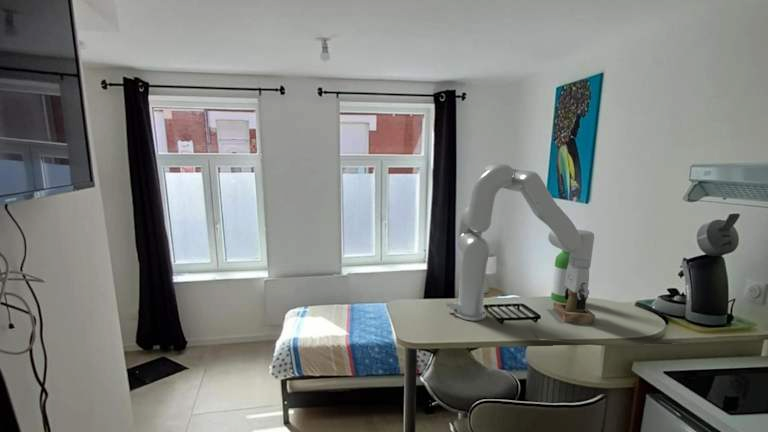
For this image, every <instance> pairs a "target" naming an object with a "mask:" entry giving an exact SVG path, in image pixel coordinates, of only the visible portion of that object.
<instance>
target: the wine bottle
mask: <svg viewBox="0 0 768 432" xmlns="http://www.w3.org/2000/svg"><path fill="white" fill-rule="evenodd" d="M561 250H562V249H561ZM569 256H570V252H566V251H564V250H562V251H561V252H560V253H559V254H557V255H556V257H555V261H554V266H553V267H554V268H553V277H552V283H551V291H550V292H551V293H550V294H551V295H550V296H551V297H550V298H551V300H553V301H555V302H556V303H567V301H568V300H566V299H565V291H566V290H567V289H565V287H566V286H565V284H564V283H565V277H566V271H567V267H568V264H569Z"/></svg>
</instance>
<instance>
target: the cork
mask: <svg viewBox="0 0 768 432" xmlns="http://www.w3.org/2000/svg"><path fill="white" fill-rule="evenodd" d="M568 294H569V297H568V301H567V304H566V308H565V309H566V310H567V311H568V312H576V313H581V309H576V301H577V299H578V296H577V292H576V293H574V292H572V291H571V290H570V289H568ZM581 295H582V294H580V296H581Z"/></svg>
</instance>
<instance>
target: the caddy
mask: <svg viewBox="0 0 768 432" xmlns="http://www.w3.org/2000/svg"><path fill="white" fill-rule="evenodd" d="M566 304H567V303H562V302H553V307H552V310H553V311H554V312H555V313H556V314H557V315H558V316H559V317H560V318H561V319H562V320H563V321H564V322H569V323H584V324H595V320H596V319H595V318H596V314H594V313H593V312H591V311H590V310H589V309H588V308H587V307H585V309H584V310H582V309H581V313H576V312H568V311H567V310H566V309H565V308H566Z"/></svg>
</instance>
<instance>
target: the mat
mask: <svg viewBox="0 0 768 432" xmlns="http://www.w3.org/2000/svg"><path fill="white" fill-rule="evenodd" d="M545 310H546V311H547V313H549V315H551V317H552V318H553V319H554V320H556V322H557V323H558V324H567V325H568V324H569V325H581V326H582V325H583V326H596V327H597V324H595V323H594V324H584V323H569V322H564V321H563V320H562V319H561V318H560V317H559V316H558V315H557V314H556V313H555V312H554V311H553V309H547V308H545Z"/></svg>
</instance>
